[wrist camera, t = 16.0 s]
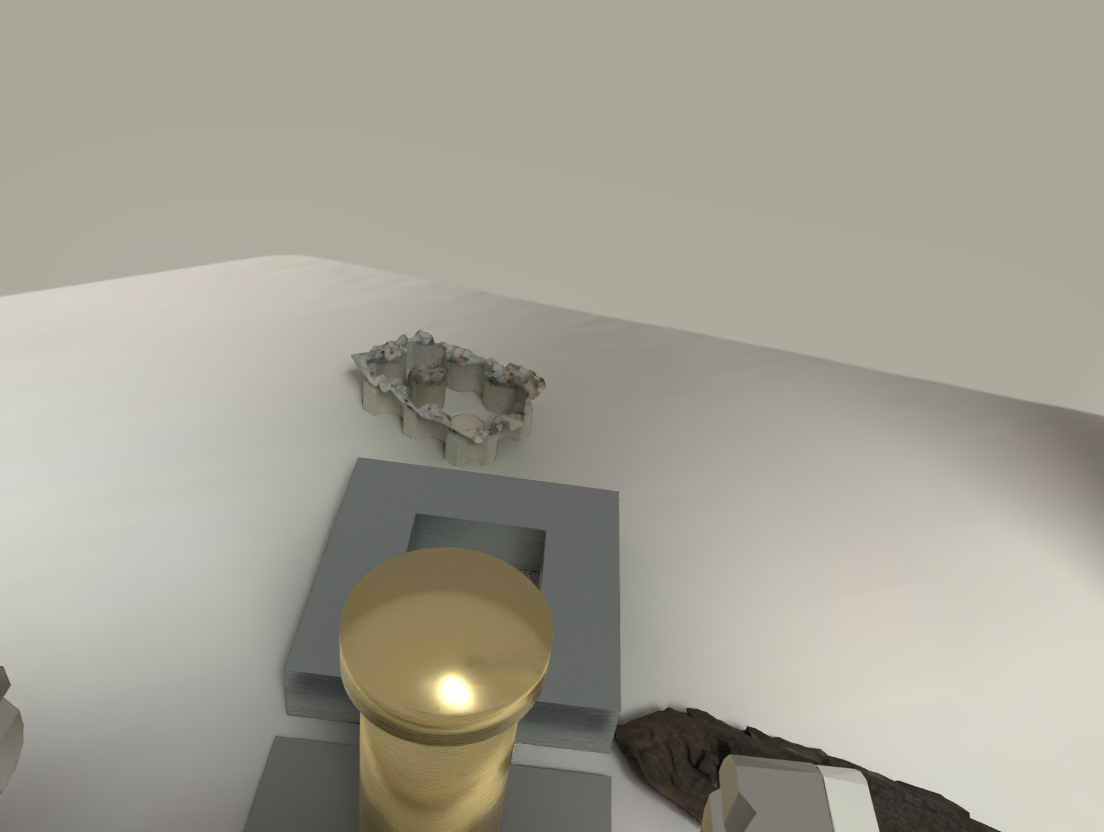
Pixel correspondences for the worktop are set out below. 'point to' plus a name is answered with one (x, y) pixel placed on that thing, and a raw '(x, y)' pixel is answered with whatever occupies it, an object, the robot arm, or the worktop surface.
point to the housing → (505, 533)
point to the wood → (703, 742)
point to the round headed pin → (441, 685)
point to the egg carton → (427, 393)
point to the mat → (333, 794)
